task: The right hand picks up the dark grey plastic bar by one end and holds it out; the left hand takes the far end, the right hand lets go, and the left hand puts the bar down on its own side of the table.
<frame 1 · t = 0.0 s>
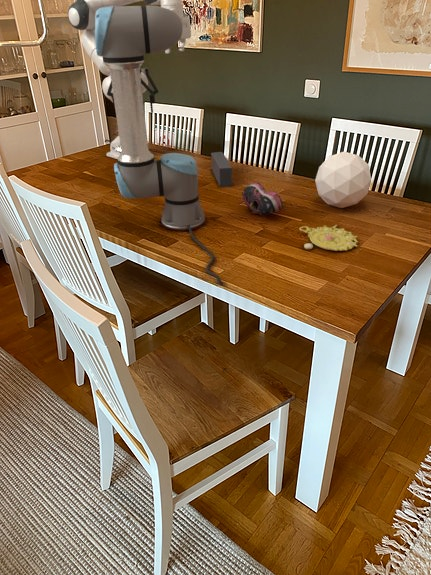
left hand: (175, 52, 187), 48 cm above the table, tool pointing down, fingers open, 8 cm apart
right hand: (135, 113, 181), 28 cm above the table, tool pointing down, fingers open, 13 cm apart
sphere: (339, 205, 165), on the table
decorative object: (328, 239, 142), on the table
bar: (221, 177, 196), on the table
athletic shoe: (257, 211, 163), on the table
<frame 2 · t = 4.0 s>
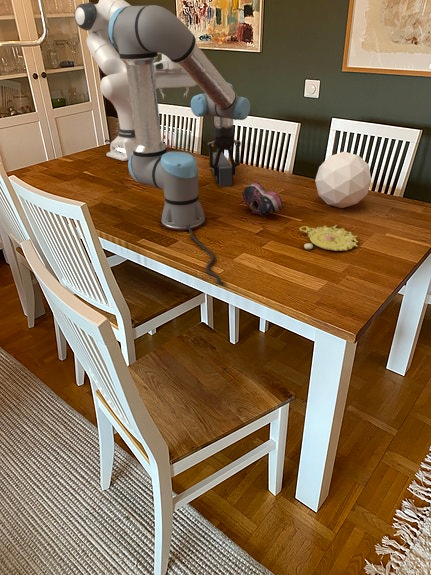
left hand: (174, 98, 197), 30 cm above the table, tool pointing down, fingers open, 8 cm apart
right hand: (224, 182, 188), 1 cm above the table, tool pointing down, fingers closed on bar, 5 cm apart
bar: (221, 177, 196), on the table, touching right hand
everything else where it was.
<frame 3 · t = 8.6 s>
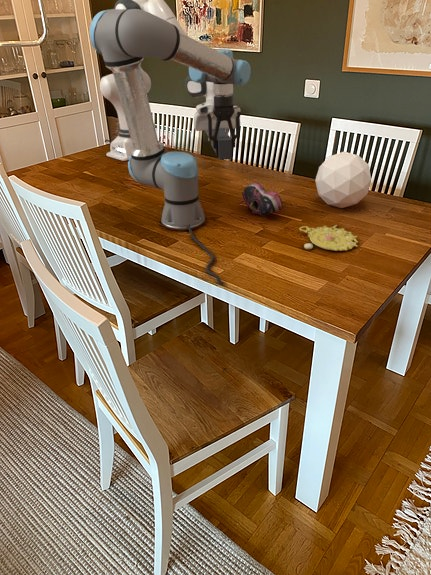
left hand: (217, 139, 195), 14 cm above the table, tool pointing down, fingers closed on bar, 5 cm apart
right hand: (224, 155, 182), 12 cm above the table, tool pointing down, fingers closed on bar, 5 cm apart
bar: (220, 151, 189), point 11 cm above the table, touching right hand, left hand
everything else where it was.
when the right hand's fingers open (12 cm above the table, at t = 9.5 s): bar stays where it is, held by the left hand.
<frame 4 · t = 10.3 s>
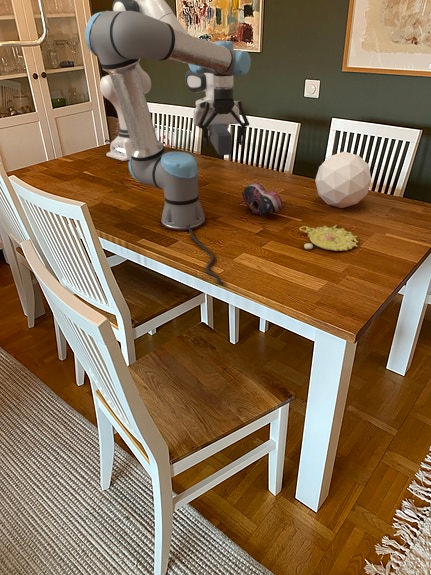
left hand: (216, 135, 195), 16 cm above the table, tool pointing down, fingers closed on bar, 5 cm apart
right hand: (223, 145, 178), 17 cm above the table, tool pointing down, fingers open, 13 cm apart
bar: (220, 147, 189), point 13 cm above the table, touching left hand
everything else where it was.
when the left hand's fingers open (4 cm above the table, at t = 17.9 s): bar stays where it is, on the table.
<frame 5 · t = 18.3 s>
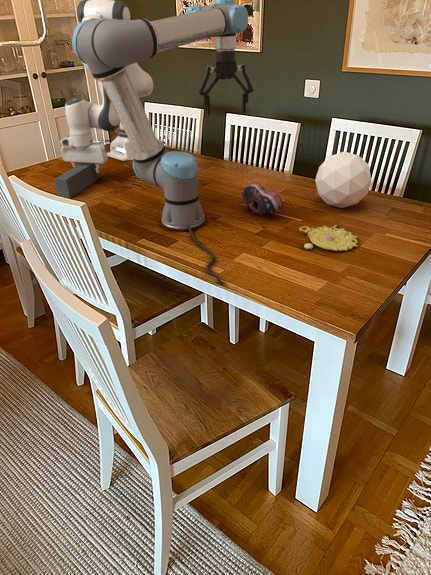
left hand: (87, 172, 194), 4 cm above the table, tool pointing down, fingers open, 8 cm apart
right hand: (226, 113, 167), 30 cm above the table, tool pointing down, fingers open, 13 cm apart
bar: (79, 188, 189), on the table
everything else where it was.
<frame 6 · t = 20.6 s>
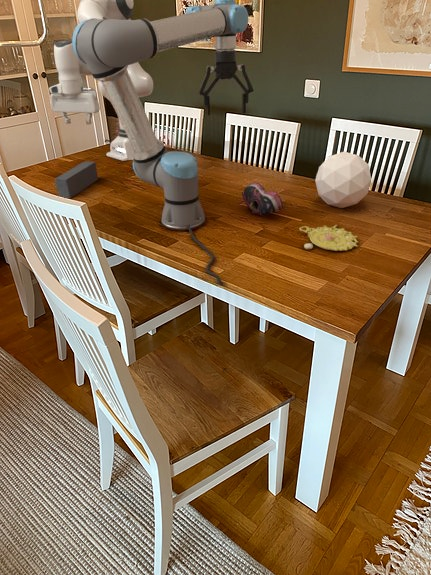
left hand: (78, 123, 183), 25 cm above the table, tool pointing down, fingers open, 8 cm apart
right hand: (226, 113, 167), 30 cm above the table, tool pointing down, fingers open, 13 cm apart
nothing on the table moved.
at the end: bar inside the target area (8.8 cm from its centre), on the table; the left hand is holding nothing; the right hand is holding nothing; bar at rest at the end (0.0 cm/s) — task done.
